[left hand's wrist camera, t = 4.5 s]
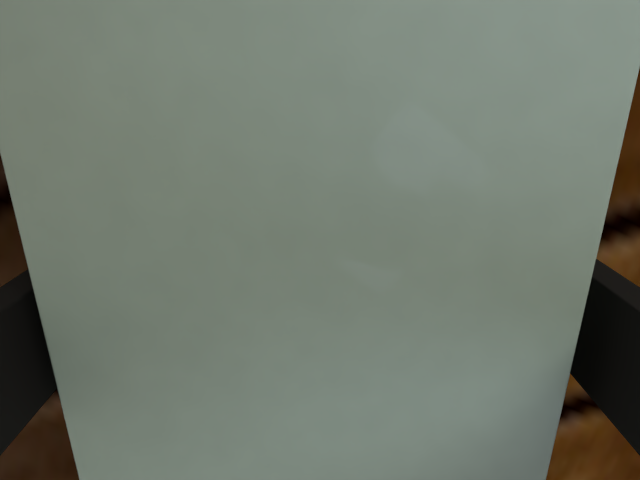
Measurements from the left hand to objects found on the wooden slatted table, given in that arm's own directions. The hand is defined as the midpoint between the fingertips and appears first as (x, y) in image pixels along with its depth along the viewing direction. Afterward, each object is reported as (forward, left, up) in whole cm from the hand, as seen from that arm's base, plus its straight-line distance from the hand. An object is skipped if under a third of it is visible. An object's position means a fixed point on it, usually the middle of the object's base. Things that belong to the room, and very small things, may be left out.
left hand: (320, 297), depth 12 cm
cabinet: (+2, +6, -6) cm, 9 cm away
